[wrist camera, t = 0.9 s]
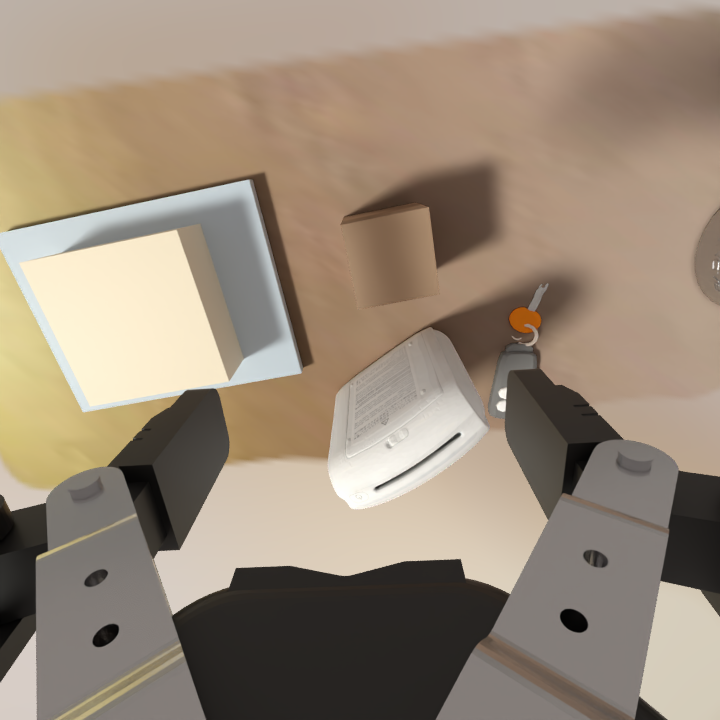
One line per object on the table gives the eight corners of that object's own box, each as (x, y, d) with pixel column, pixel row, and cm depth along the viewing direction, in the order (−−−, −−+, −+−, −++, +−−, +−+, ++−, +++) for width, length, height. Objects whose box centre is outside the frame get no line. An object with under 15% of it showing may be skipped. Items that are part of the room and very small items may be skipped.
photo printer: (360, 427, 36) (361, 541, 25) (327, 391, 35) (312, 494, 23) (463, 357, 34) (517, 448, 22) (432, 316, 32) (472, 389, 21)
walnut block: (415, 202, 29) (428, 207, 24) (425, 274, 31) (439, 294, 26) (343, 216, 30) (340, 225, 24) (357, 287, 32) (357, 309, 26)
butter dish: (252, 179, 29) (232, 179, 24) (303, 367, 34) (294, 397, 29) (4, 232, 30) (-61, 242, 25) (90, 406, 35) (49, 440, 31)
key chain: (528, 412, 36) (535, 421, 35) (484, 411, 36) (489, 420, 35) (558, 255, 31) (567, 259, 30) (507, 254, 31) (513, 258, 30)
